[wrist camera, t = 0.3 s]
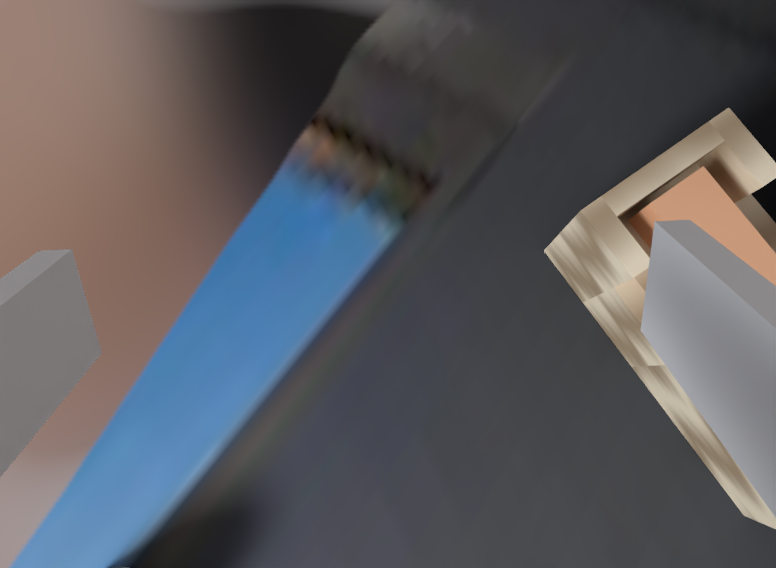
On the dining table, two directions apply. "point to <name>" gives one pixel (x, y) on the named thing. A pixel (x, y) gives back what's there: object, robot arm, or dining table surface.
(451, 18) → the dining table surface
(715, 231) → the tan block
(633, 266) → the box
